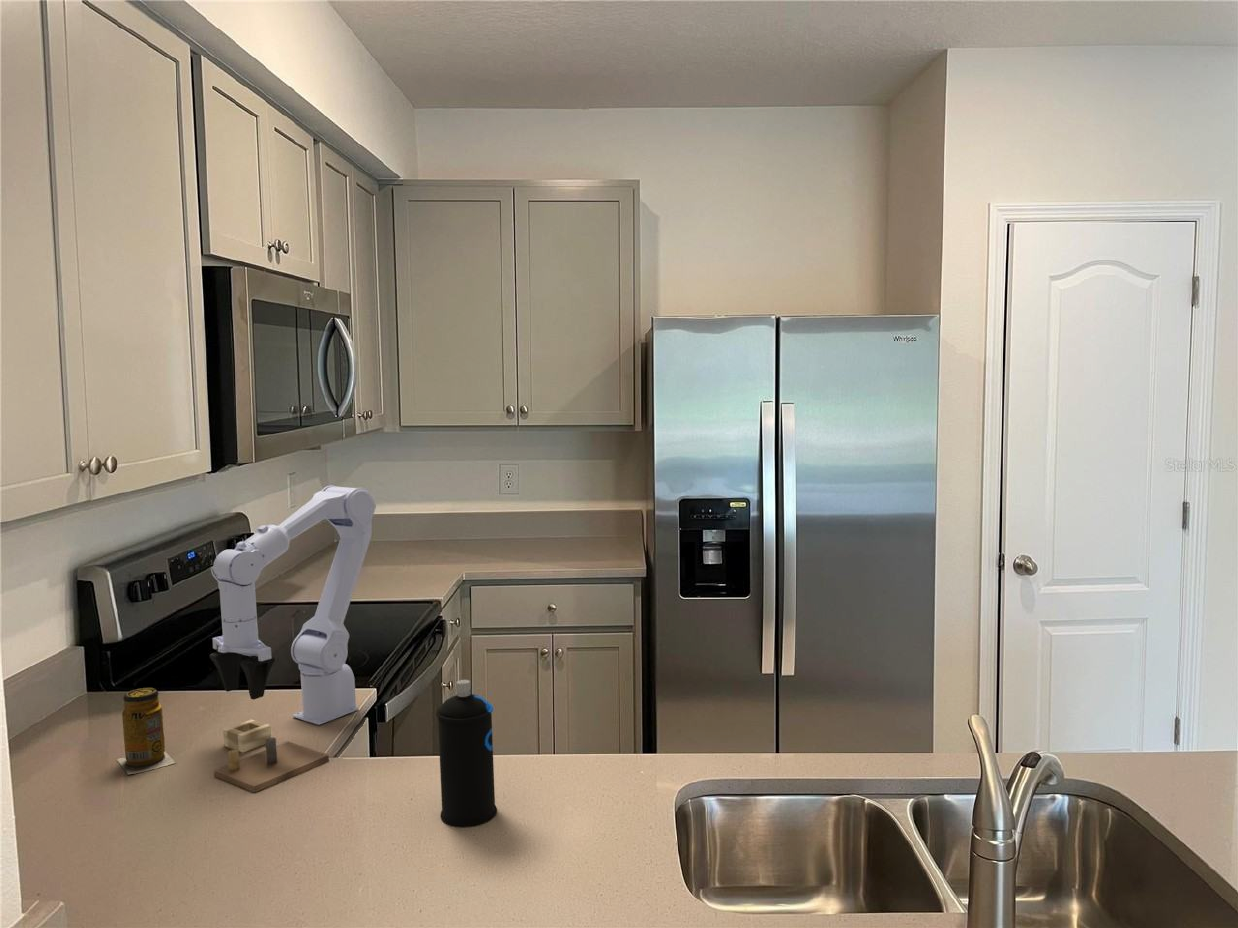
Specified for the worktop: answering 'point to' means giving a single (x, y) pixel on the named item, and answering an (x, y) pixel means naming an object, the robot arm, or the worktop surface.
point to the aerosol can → (466, 758)
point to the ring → (246, 735)
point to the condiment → (143, 732)
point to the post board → (269, 765)
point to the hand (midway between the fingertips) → (244, 693)
